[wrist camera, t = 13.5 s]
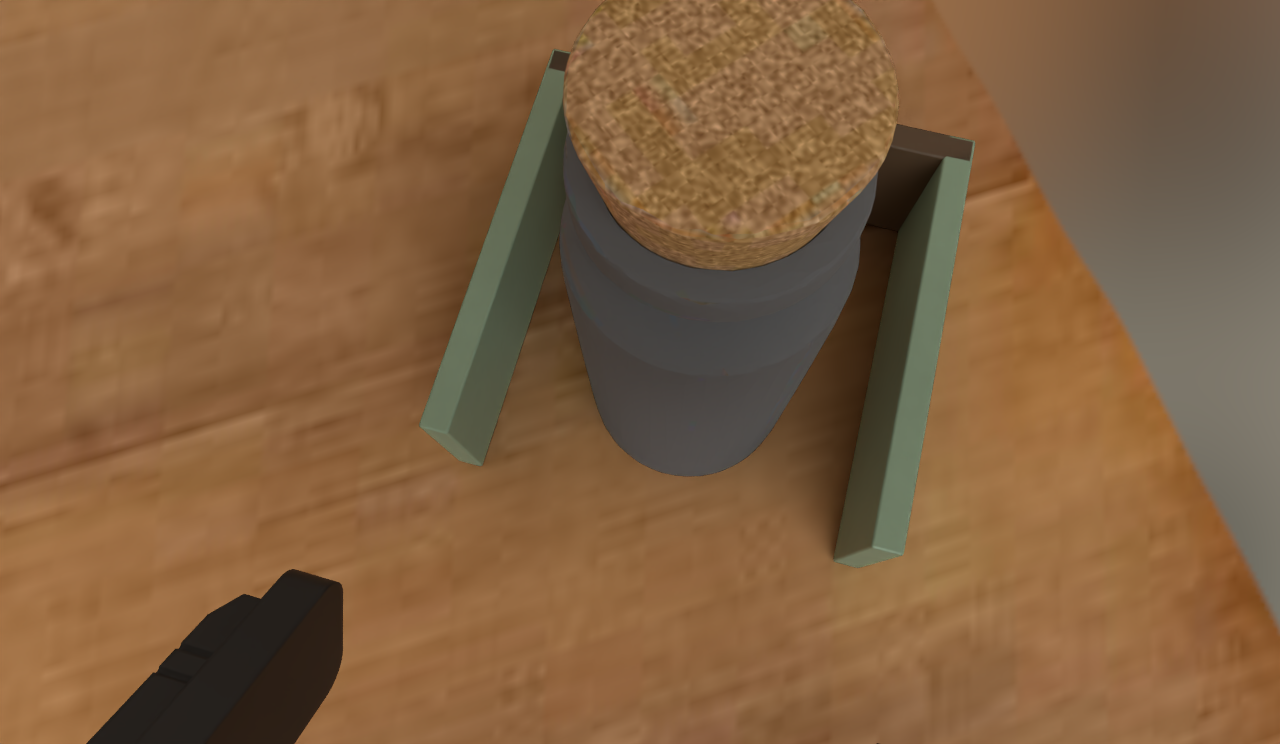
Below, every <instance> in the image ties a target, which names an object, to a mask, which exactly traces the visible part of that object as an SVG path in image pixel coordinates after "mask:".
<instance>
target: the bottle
mask: <svg viewBox="0 0 1280 744" xmlns="http://www.w3.org/2000/svg"><path fill="white" fill-rule="evenodd" d="M898 105H899V91H898V85H897V78H896V72H895V67H894V65H893V62H892V59H891V56H890V53H889V51H888V49H887V47H886V45H885V43H884V40H883V38H882V36H881V35H880V33H879V32H878V31H877V29H876V28H875V26H874V25H873V23H872V22H871V21H870V19H869V18H868V16H867V15H866V13H865V12H864V11H863V10H862V9H861V8H860V7H859V6H858V5H857V4H855V3H854V2H853V1H852V0H605V1H604V2H603V3H602V4H601V5H600V6H599V7H598V8H597V9H596V10H595V11H594V13H593V14H592V16H591V17H590V19H589V20H588V21H587V23H586V24H585V26H584V27H583V29H582V30H581V32H580V34H579V35H578V37H577V39H576V41H575V42H574V45H573V48H572V51H571V54H570V56H569V59H568V62H567V66H566V70H565V74H564V88H563V107H564V117H565V122H566V126H567V130H568V132H567V136H566V141H565V145H564V156H563V177H564V187H565V192H566V200H565V204H564V208H563V213H562V218H561V225H560V240H559V245H560V255H561V265H562V270H563V275H564V280H565V285H566V289H567V293H568V297H569V301H570V305H571V309H572V313H573V317H574V321H575V325H576V330H577V334H578V338H579V342H580V346H581V349H582V353H583V357H584V361H585V365H586V368H587V372H588V376H589V380H590V383H591V387H592V391H593V395H594V398H595V401H596V405H597V408H598V410H599V413H600V416H601V418H602V420H603V423H604V425H605V427H606V428H607V430H608V431H609V433H610V434H611V436H612V438H613V439H614V440H615V442H616V443H617V444H618V445H619V446H620V447H621V448H622V449H623V450H624V451H625V452H626V453H627V454H629V455H630V456H631V457H632V458H634V459H635V460H636V461H638V462H639V463H641V464H643V465H645V466H647V467H649V468H651V469H654V470H657V471H659V472H662V473H667V474H672V475H678V476H703V475H708V474H713V473H717V472H720V471H723V470H725V469H727V468H729V467H731V466H733V465H736V464H737V463H739V462H740V461H742V460H743V459H745V458H746V457H748V456H749V455H750V454H751V453H752V452H753V451H755V449H756V448H757V447H758V446H759V445H760V444H761V443H762V442H763V441H764V439H765V438H766V437H767V435H768V434H769V433H770V431H771V430H772V428H773V427H774V425H775V424H776V422H777V420H778V419H779V417H780V415H781V414H782V412H783V411H784V409H785V407H786V406H787V404H788V402H789V401H790V399H791V397H792V396H793V394H794V393H795V391H796V389H797V388H798V386H799V384H800V383H801V381H802V380H803V378H804V376H805V374H806V373H807V371H808V369H809V368H810V366H811V364H812V363H813V361H814V359H815V357H816V356H817V354H818V352H819V351H820V349H821V347H822V345H823V344H824V342H825V340H826V339H827V337H828V335H829V334H830V332H831V330H832V328H833V327H834V325H835V323H836V321H837V319H838V317H839V315H840V313H841V311H842V309H843V307H844V305H845V303H846V301H847V299H848V297H849V295H850V293H851V291H852V287H853V284H854V280H855V277H856V273H857V270H858V266H859V255H860V236H861V233H862V231H863V229H864V227H865V225H866V223H867V220H868V218H869V216H870V214H871V210H872V207H873V203H874V199H875V193H876V186H877V178H878V170H879V168H880V167H881V165H882V163H883V162H884V160H885V158H886V155H887V153H888V151H889V148H890V146H891V143H892V140H893V136H894V132H895V128H896V124H897V119H898Z"/></svg>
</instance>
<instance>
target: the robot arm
mask: <svg viewBox="0 0 1280 744" xmlns="http://www.w3.org/2000/svg"><path fill="white" fill-rule="evenodd" d="M342 653H343V588H342V585H341V584H340V583H339V582H336V581H333V580H329V579H326V578H322V577H319V576H316V575H312V574H309V573H305V572H302V571H299V570H295V569H291V570H289V571H287V572H285V573H284V574H283V575H282V576H281V577H280V578H279V579H278V580H277V581H276V583H275V584H274V585H273V586H272V587H271V588H270V589H269V590H268V592H267V593H266V594H265V595H264V596H263V597H262V598H261V599H260V598H256V597H253V596H250V595H246V594H243V595H241V596H239V597H238V598H236V599H234V600H232V601H231V602H229V603H227V604H225V605H224V606H222V607H220V608H218V609H217V610H215V611H213V612H211V613H210V614H208V615H207V616H206V617H205V618H204V619H203V620H202V621H201V622H200V623H199V625H198V626H197V627H196V628H195V629H194V630H193V631H192V632H191V633H190V634H189V635H188V636H187V637H186V638H185V639H184V640H183V642H182V643H181V646H180V648H179V649H175V650H174V651H173V652H172V653H171V654H170V655H169V656H168V657H167V659H166V660H165V661H164V662H163V663H162V664H161V665H160V666H159V669H158V671H157V672H156V673H154V672H153V673H152V674H151V676H150V677H149V678H148V679H147V680H146V681H145V682H144V683H143V684H142V685H141V686H140V687H139V688H138V689H137V690H136V691H135V693H134V694H133V695H132V696H131V697H130V698H129V699H128V700H127V701H126V702H125V703H124V704H123V705H122V706H121V707H120V708H119V710H118V711H117V712H116V713H115V714H114V715H113V716H112V717H111V718H110V719H109V720H108V721H107V722H106V723H105V724H104V725H103V727H102V728H101V729H100V730H99V731H98V732H97V733H96V734H95V735H94V736H93V737H92V738H91V739H90V740H89V741H88V742H87V744H294V743H295V742H296V740H297V739H298V737H299V736H300V735H301V733H302V732H303V730H304V729H305V727H306V726H307V724H308V723H309V721H310V720H311V718H312V717H313V715H314V714H315V712H316V711H317V709H318V708H319V707H320V705H321V704H322V702H323V701H324V699H325V698H326V696H327V695H328V693H329V691H330V689H331V687H332V685H333V683H334V681H335V679H336V676H337V674H338V671H339V668H340V664H341V660H342ZM877 744H878V743H877Z"/></svg>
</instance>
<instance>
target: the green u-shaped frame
mask: <svg viewBox="0 0 1280 744" xmlns="http://www.w3.org/2000/svg"><path fill="white" fill-rule="evenodd" d="M570 54H571V52H566V51H561V50H557V49H554V50H553V51H552V54H551V57H550V59H549V62H548V65H547V68H546V71H545V73H544V76H543V79H542V82H541V85H540V87H539V90H538V93H537V96H536V99H535V101H534V104H533V107H532V110H531V113H530V115H529V118H528V121H527V124H526V127H525V129H524V132H523V135H522V138H521V141H520V143H519V146H518V149H517V152H516V155H515V157H514V160H513V163H512V166H511V169H510V171H509V174H508V177H507V180H506V183H505V185H504V188H503V191H502V194H501V197H500V199H499V202H498V205H497V208H496V211H495V213H494V216H493V219H492V222H491V225H490V227H489V230H488V233H487V236H486V239H485V241H484V244H483V247H482V250H481V253H480V255H479V258H478V261H477V264H476V267H475V269H474V272H473V275H472V278H471V281H470V283H469V286H468V289H467V292H466V295H465V297H464V300H463V303H462V306H461V309H460V311H459V314H458V317H457V320H456V323H455V325H454V328H453V331H452V334H451V337H450V339H449V342H448V345H447V348H446V351H445V353H444V356H443V359H442V362H441V365H440V367H439V370H438V373H437V376H436V379H435V381H434V384H433V387H432V390H431V393H430V395H429V398H428V401H427V404H426V407H425V409H424V412H423V415H422V418H421V421H420V423H419V427H421V428H422V429H423V430H424V431H425V432H426V433H428V434H429V435H430V436H431V437H432V438H433V439H435V440H436V441H437V442H438V443H439V444H440V445H442V446H443V447H444V448H445V449H446V450H448V451H449V452H450V453H451V454H452V455H453V456H455V457H456V458H457V459H458V460H459V461H463V462H466V463H470V464H474V465H477V466H482V465H483V463H484V459H485V456H486V453H487V450H488V447H489V444H490V441H491V438H492V435H493V432H494V429H495V426H496V423H497V420H498V417H499V414H500V411H501V408H502V405H503V402H504V399H505V396H506V393H507V390H508V387H509V384H510V381H511V378H512V374H513V371H514V368H515V365H516V362H517V359H518V356H519V353H520V350H521V347H522V344H523V341H524V338H525V335H526V332H527V329H528V326H529V323H530V320H531V317H532V314H533V311H534V308H535V305H536V302H537V299H538V296H539V293H540V289H541V286H542V283H543V280H544V277H545V274H546V271H547V268H548V265H549V262H550V259H551V256H552V253H553V250H554V247H555V244H556V241H557V238H558V235H559V232H560V225H561V218H562V213H563V208H564V204H565V200H566V192H565V187H564V177H563V156H564V145H565V141H566V136H567V132H568V130H567V126H566V122H565V117H564V107H563V88H564V74H565V70H566V66H567V62H568V59H569V56H570ZM974 148H975V141H973V140H968V139H963V138H959V137H954V136H949V135H945V134H940V133H935V132H931V131H926V130H922V129H917V128H913V127H908V126H903V125H899V124H896V128H895V132H894V136H893V140H892V143H891V146H890V148H889V151H888V153H887V155H886V158H885V160H884V162H883V163H882V165H881V167H880V168H879V170H878V178H877V186H876V193H875V199H874V203H873V207H872V210H871V214H870V216H869V218H868V220H867V223H866V224H869V225H874V226H878V227H882V228H887V229H891V230H895V231H898V236H897V241H896V246H895V251H894V256H893V261H892V266H891V271H890V276H889V281H888V286H887V291H886V296H885V301H884V306H883V311H882V316H881V322H880V327H879V332H878V337H877V342H876V347H875V352H874V357H873V362H872V367H871V372H870V377H869V382H868V387H867V392H866V397H865V402H864V407H863V412H862V417H861V422H860V428H859V433H858V438H857V443H856V448H855V453H854V458H853V463H852V468H851V473H850V478H849V483H848V488H847V493H846V498H845V503H844V508H843V513H842V518H841V523H840V528H839V533H838V539H837V544H836V549H835V554H834V561H835V562H837V563H841V564H845V565H848V566H852V567H856V568H860V567H864V566H867V565H871V564H874V563H878V562H881V561H885V560H888V559H892V558H895V557H899V556H902V555H903V554H904V549H905V543H906V538H907V532H908V526H909V520H910V515H911V509H912V503H913V497H914V492H915V486H916V480H917V475H918V469H919V463H920V457H921V452H922V446H923V440H924V434H925V429H926V423H927V417H928V411H929V406H930V400H931V394H932V388H933V383H934V377H935V371H936V366H937V360H938V354H939V348H940V343H941V337H942V331H943V325H944V320H945V314H946V308H947V302H948V297H949V291H950V285H951V279H952V274H953V268H954V262H955V257H956V251H957V245H958V239H959V234H960V228H961V222H962V216H963V211H964V205H965V199H966V193H967V188H968V182H969V176H970V170H971V165H972V159H973V153H974Z"/></svg>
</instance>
